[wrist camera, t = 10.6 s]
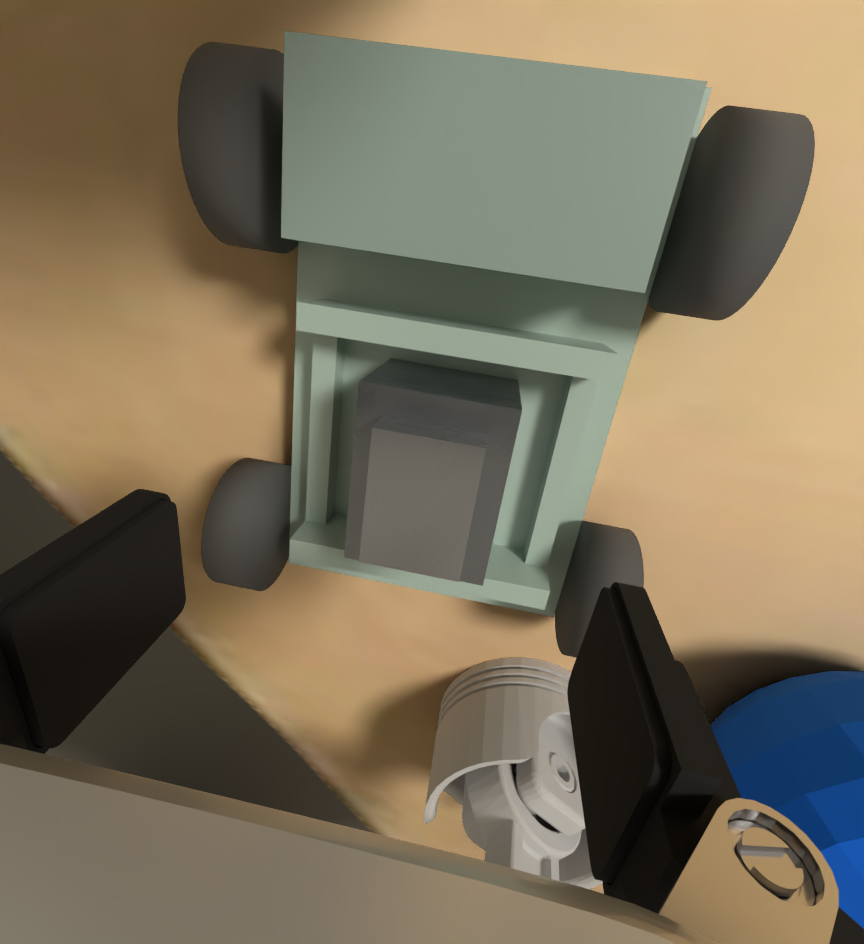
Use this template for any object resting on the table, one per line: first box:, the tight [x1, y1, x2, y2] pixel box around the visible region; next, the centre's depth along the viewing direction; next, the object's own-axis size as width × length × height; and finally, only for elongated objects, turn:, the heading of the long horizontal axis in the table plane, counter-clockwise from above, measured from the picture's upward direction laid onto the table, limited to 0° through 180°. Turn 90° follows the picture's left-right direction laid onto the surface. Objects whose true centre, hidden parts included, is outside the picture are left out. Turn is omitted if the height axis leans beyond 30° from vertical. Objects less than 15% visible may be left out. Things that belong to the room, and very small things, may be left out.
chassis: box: [178, 31, 815, 657], centre depth 19 cm, size 22×18×6 cm
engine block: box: [344, 358, 522, 586], centre depth 19 cm, size 7×6×6 cm
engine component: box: [424, 657, 603, 889], centre depth 20 cm, size 11×20×10 cm
